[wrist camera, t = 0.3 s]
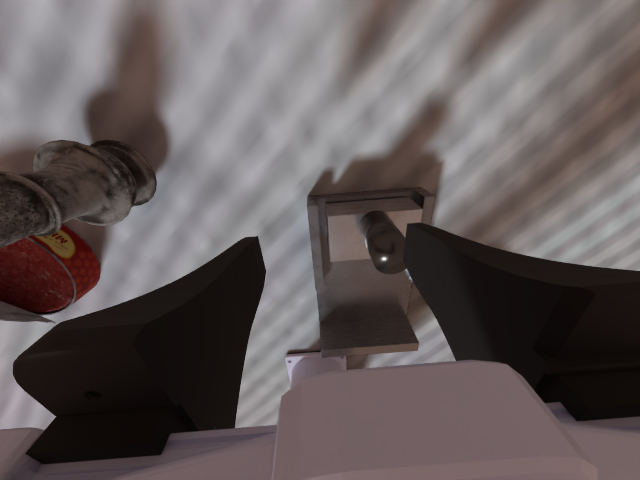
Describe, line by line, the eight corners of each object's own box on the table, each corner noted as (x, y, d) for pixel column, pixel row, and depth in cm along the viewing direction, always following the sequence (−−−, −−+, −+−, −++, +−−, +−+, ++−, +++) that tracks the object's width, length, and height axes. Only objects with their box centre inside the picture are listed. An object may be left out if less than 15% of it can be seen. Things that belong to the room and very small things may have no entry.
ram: (403, 238, 21) (443, 292, 15) (328, 244, 21) (335, 300, 15) (408, 194, 19) (458, 234, 13) (325, 201, 19) (332, 244, 13)
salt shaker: (130, 126, 17) (-157, 143, 7) (174, 199, 20) (20, 293, 9) (62, 147, 18) (-303, 196, 7) (114, 216, 20) (-95, 323, 10)
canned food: (134, 251, 28) (105, 339, 22) (42, 263, 27) (-12, 358, 21) (39, 178, 18) (-53, 298, 13) (-108, 192, 17) (-276, 329, 12)
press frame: (401, 320, 28) (416, 353, 24) (320, 326, 28) (322, 360, 24) (421, 187, 20) (447, 204, 16) (307, 196, 20) (306, 215, 16)
